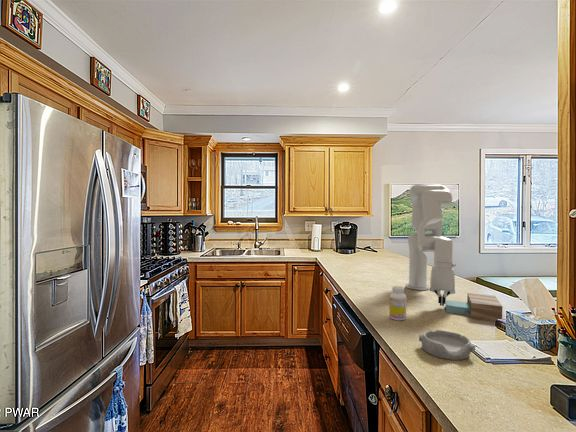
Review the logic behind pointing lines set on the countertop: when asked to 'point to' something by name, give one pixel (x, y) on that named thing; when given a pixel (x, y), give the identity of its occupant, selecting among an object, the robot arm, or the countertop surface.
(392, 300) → the supplement bottle
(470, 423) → the countertop surface
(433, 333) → the dish
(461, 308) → the pale blue foam block
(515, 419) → the countertop surface
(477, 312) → the shelf dock
